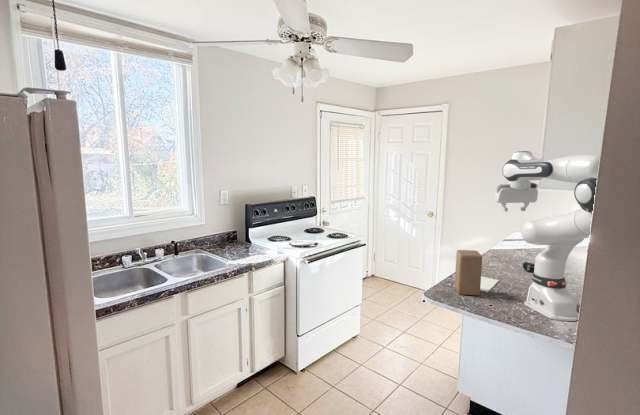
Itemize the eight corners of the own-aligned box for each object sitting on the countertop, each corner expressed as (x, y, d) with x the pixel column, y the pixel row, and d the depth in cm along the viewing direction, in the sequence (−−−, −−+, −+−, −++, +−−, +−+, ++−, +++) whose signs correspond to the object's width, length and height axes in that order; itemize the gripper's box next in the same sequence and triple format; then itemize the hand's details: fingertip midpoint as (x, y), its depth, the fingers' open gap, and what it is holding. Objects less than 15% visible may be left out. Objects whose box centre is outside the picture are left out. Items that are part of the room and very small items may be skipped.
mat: (487, 292, 166) (487, 291, 166) (454, 284, 176) (454, 284, 176) (498, 280, 182) (499, 280, 182) (468, 274, 193) (468, 273, 193)
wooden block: (480, 296, 161) (483, 256, 157) (458, 294, 163) (460, 255, 159) (475, 288, 170) (477, 250, 167) (454, 286, 172) (456, 249, 169)
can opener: (520, 271, 200) (521, 262, 199) (524, 268, 204) (525, 259, 203) (555, 279, 187) (556, 269, 186) (559, 276, 191) (560, 266, 190)
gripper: (501, 185, 163) (497, 213, 166) (541, 184, 164) (537, 212, 167) (493, 183, 169) (490, 209, 172) (532, 182, 170) (528, 209, 173)
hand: (514, 211), depth 170 cm, fingers open, 8 cm apart
